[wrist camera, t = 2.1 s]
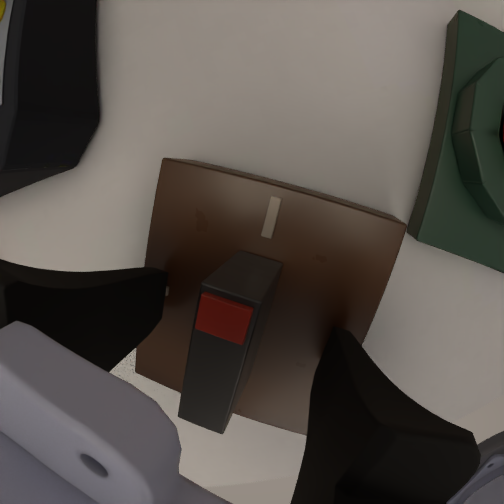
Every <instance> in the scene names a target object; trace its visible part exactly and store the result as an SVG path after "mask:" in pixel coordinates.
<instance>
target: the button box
mask: <svg viewBox="0 0 504 504" xmlns="http://www.w3.org/2000/svg"><path fill="white" fill-rule="evenodd" d="M503 123H504V32H502V31H500V30H498V29H497V28H495V27H493V26H491V25H489V24H487V23H486V22H484V21H482V20H480V19H478V18H476V17H474V16H472V15H470V14H467V13H465V12H463V11H461V10H458V11H457V13H456V14H455V15H454V17H453V18H452V19H451V21H450V22H449V23H448V25H447V37H446V48H445V58H444V66H443V74H442V81H441V88H440V94H439V100H438V106H437V112H436V117H435V123H434V128H433V133H432V137H431V142H430V147H429V151H428V155H427V160H426V164H425V168H424V172H423V176H422V180H421V184H420V187H419V191H418V195H417V198H416V202H415V205H414V209H413V212H412V215H411V219H410V222H409V225H408V228H407V233H408V234H409V235H411V236H412V237H413V238H414V239H416V240H417V241H420V242H422V243H425V244H428V245H431V246H434V247H437V248H439V249H442V250H445V251H448V252H450V253H453V254H456V255H458V256H461V257H464V258H466V259H469V260H472V261H474V262H477V263H480V264H482V265H485V266H487V267H490V268H492V269H495V270H497V271H500V272H502V273H504V145H503Z"/></svg>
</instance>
